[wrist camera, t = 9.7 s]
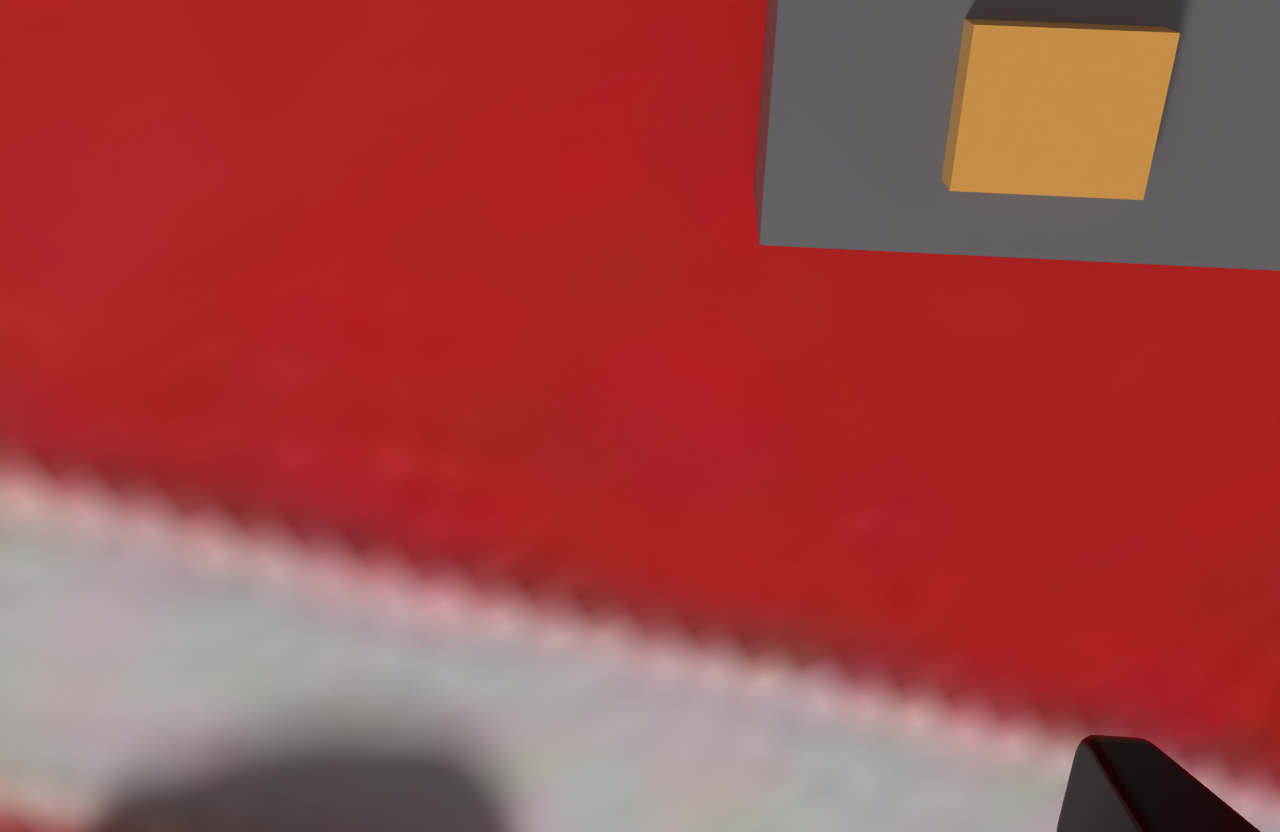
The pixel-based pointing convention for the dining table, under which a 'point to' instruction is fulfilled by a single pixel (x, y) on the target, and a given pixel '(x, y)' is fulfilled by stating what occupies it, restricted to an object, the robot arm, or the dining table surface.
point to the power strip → (888, 134)
